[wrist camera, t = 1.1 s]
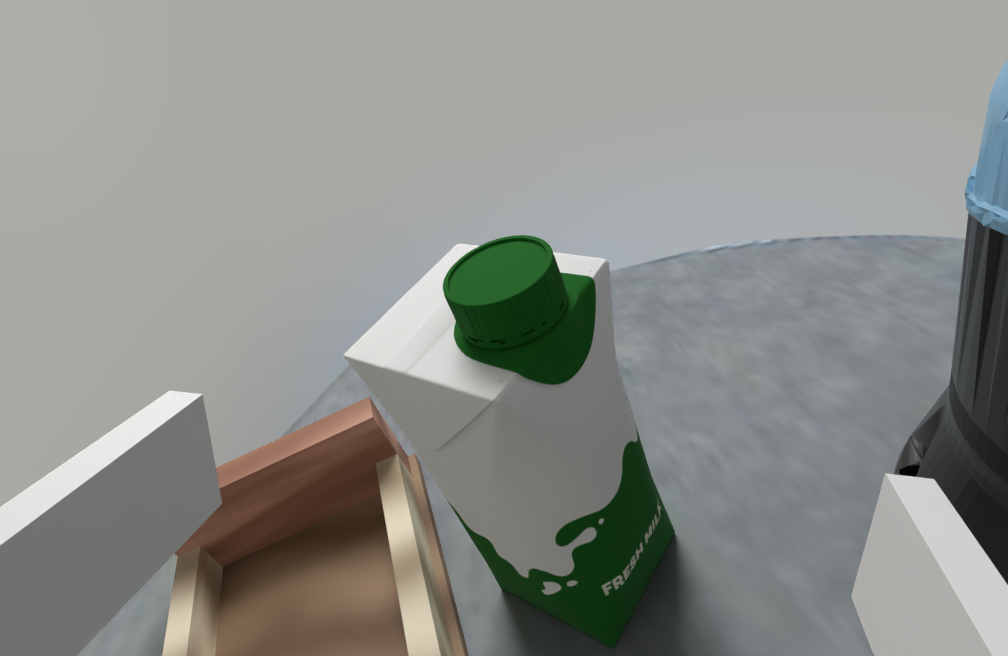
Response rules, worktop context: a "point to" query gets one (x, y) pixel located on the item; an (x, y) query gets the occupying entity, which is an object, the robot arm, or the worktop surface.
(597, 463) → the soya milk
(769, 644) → the worktop surface
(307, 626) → the dock
